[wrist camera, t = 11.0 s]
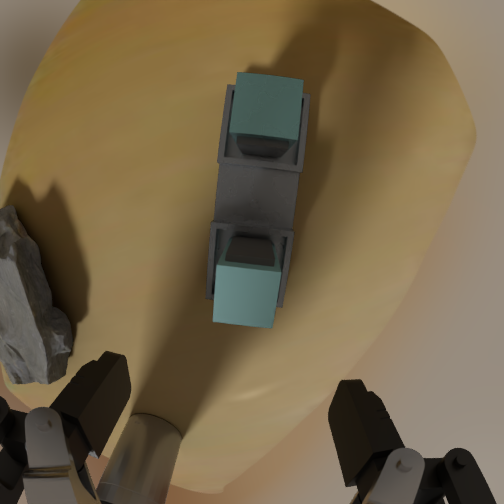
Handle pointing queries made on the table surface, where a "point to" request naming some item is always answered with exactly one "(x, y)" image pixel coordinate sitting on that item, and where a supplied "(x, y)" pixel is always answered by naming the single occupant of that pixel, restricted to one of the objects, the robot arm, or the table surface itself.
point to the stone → (28, 310)
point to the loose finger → (247, 283)
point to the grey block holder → (259, 167)
